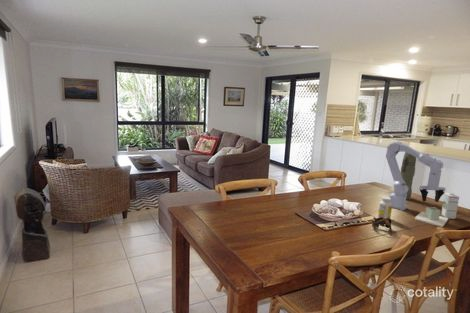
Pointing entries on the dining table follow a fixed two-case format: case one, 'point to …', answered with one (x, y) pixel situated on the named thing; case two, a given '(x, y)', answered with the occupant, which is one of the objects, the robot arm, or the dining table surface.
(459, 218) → the dining table surface
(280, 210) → the dining table surface
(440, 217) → the board
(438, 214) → the collar
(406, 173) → the thermos
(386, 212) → the supplement bottle
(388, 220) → the brown animal figurine
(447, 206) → the syrup box
